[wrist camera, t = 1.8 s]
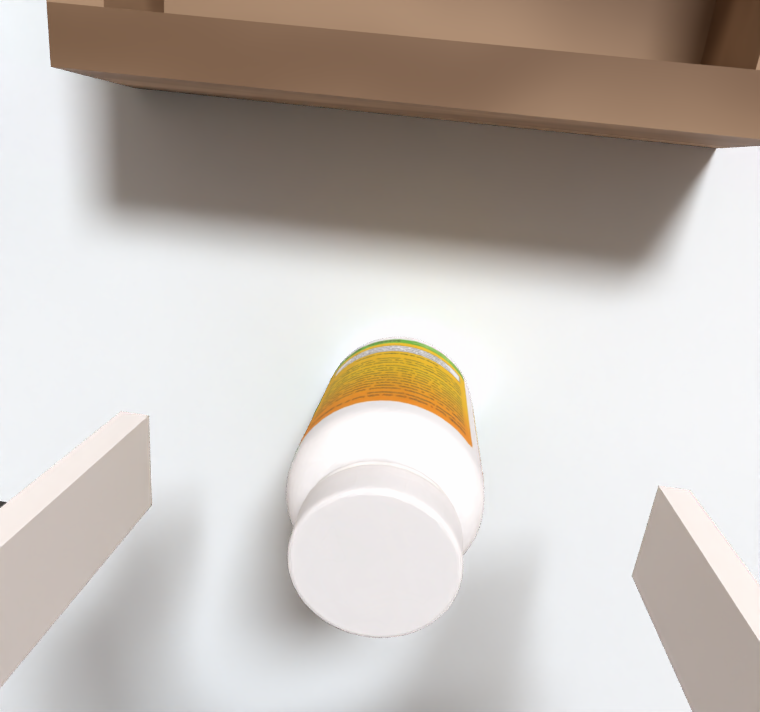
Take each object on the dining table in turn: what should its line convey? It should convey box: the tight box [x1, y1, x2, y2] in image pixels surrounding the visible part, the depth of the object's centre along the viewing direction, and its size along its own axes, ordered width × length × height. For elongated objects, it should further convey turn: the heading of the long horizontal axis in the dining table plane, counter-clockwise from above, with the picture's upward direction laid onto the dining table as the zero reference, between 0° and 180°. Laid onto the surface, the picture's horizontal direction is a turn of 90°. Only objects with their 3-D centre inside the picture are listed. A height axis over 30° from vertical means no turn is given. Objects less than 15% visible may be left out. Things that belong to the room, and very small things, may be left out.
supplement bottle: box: [286, 337, 484, 638], centre depth 18 cm, size 5×5×10 cm
